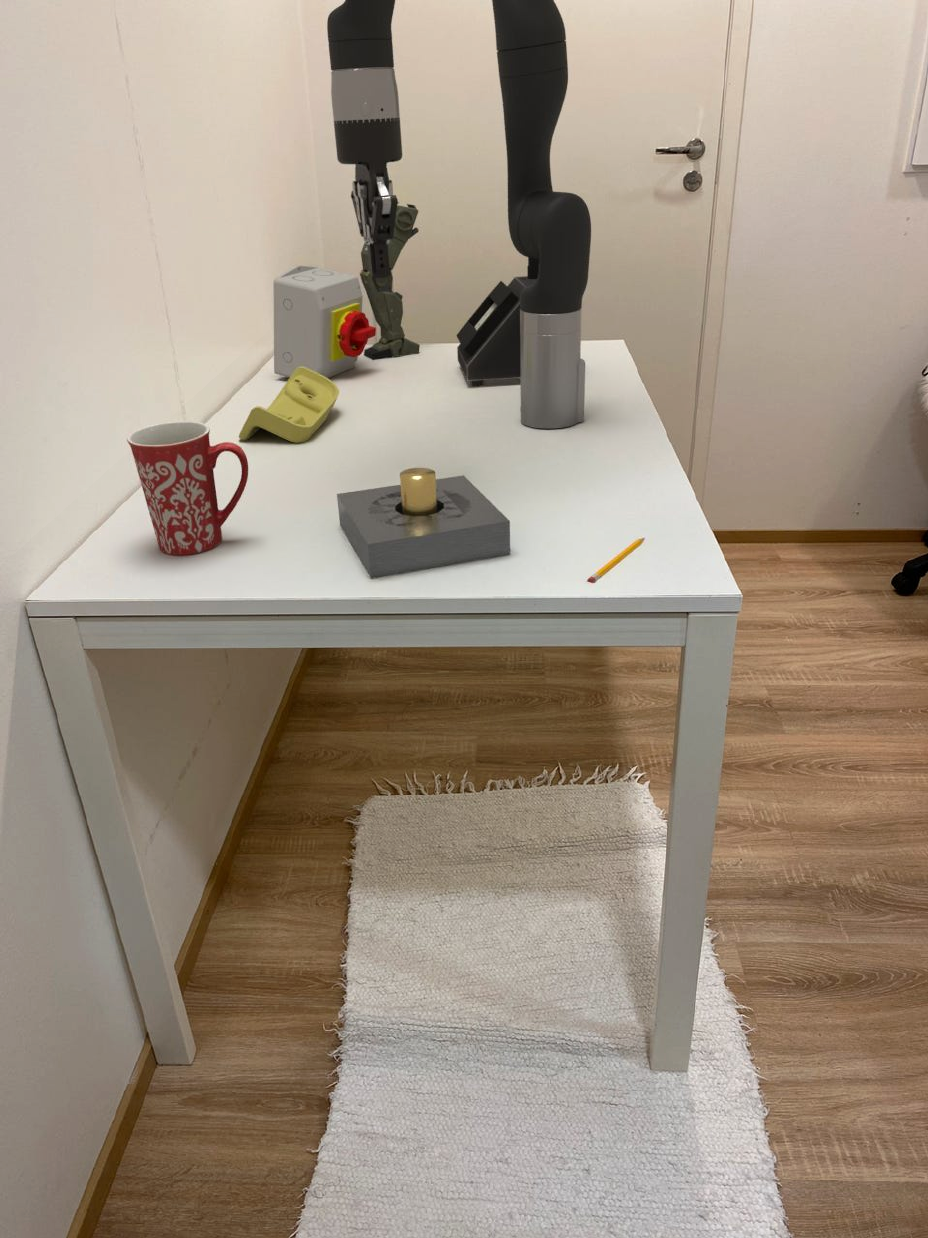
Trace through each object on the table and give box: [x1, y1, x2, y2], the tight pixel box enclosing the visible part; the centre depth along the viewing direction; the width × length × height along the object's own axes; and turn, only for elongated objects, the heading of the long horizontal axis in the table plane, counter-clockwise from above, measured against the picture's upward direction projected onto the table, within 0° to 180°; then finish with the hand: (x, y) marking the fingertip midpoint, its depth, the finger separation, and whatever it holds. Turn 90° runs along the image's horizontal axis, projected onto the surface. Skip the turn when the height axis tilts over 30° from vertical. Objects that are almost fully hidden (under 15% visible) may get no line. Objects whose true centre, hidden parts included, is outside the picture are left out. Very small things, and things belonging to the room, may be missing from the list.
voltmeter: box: [456, 257, 540, 387], centre depth 171 cm, size 16×16×20 cm
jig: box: [336, 475, 511, 579], centre depth 108 cm, size 16×16×4 cm
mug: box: [126, 420, 249, 556], centre depth 107 cm, size 13×9×14 cm
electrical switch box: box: [273, 264, 377, 379], centre depth 176 cm, size 15×15×20 cm
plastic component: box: [238, 366, 340, 444], centre depth 151 cm, size 20×7×10 cm
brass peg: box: [399, 467, 437, 516], centre depth 107 cm, size 4×4×8 cm
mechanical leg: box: [359, 201, 421, 361], centre depth 188 cm, size 14×7×30 cm, turn 117°
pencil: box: [586, 537, 646, 584], centre depth 103 cm, size 1×13×1 cm, turn 145°
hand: (379, 276), depth 114 cm, fingers closed
